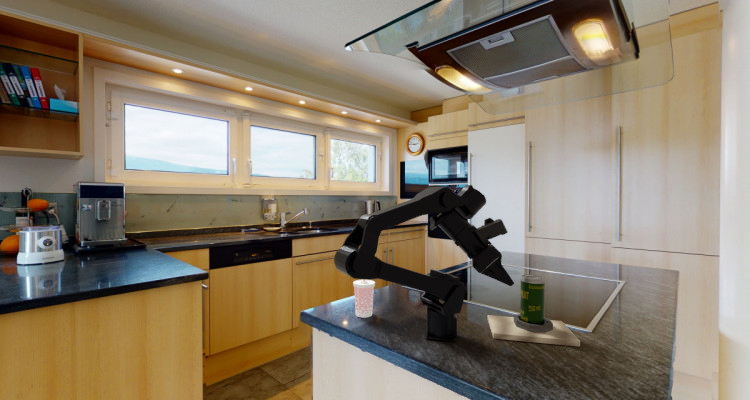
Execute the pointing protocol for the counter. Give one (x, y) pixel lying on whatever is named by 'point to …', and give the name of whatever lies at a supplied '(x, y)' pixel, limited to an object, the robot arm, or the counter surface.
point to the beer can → (532, 299)
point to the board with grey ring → (531, 331)
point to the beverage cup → (364, 297)
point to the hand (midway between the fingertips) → (508, 279)
